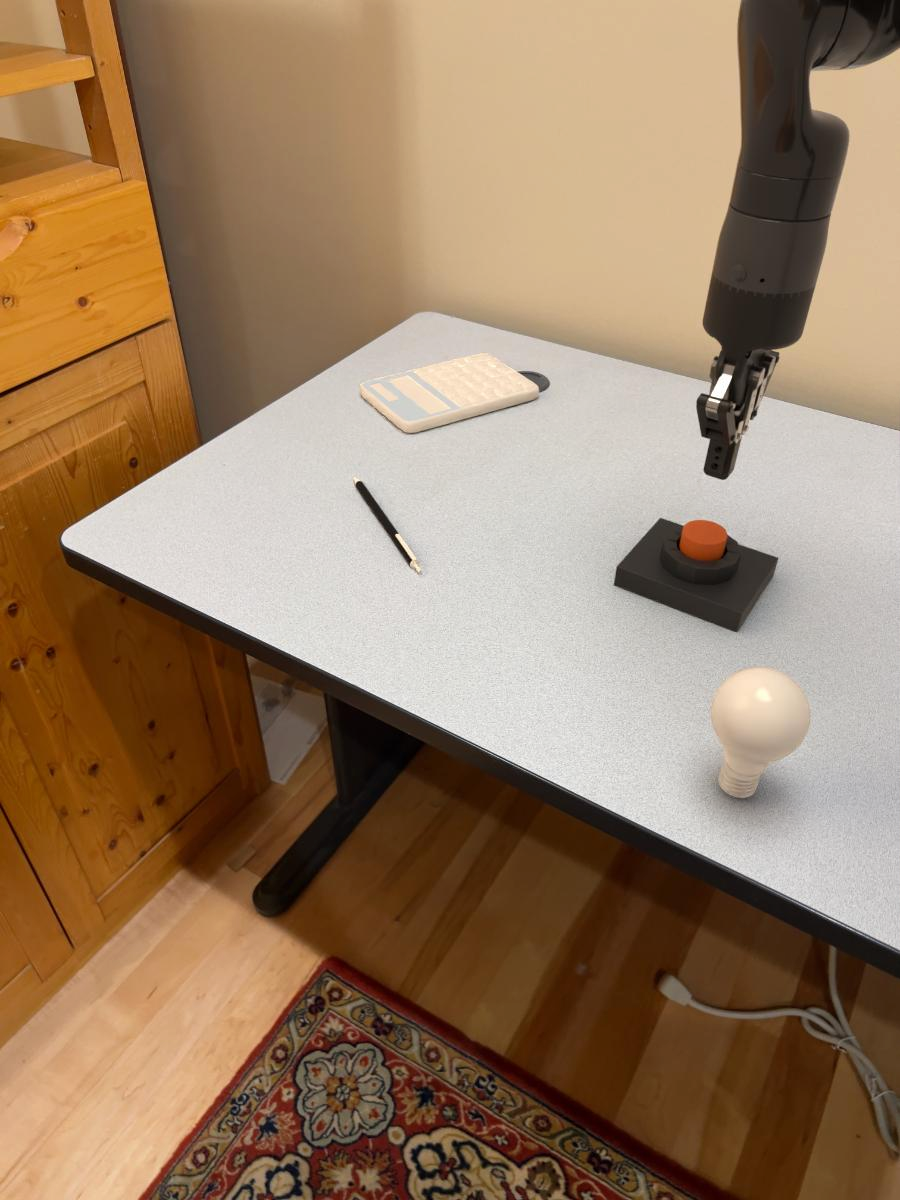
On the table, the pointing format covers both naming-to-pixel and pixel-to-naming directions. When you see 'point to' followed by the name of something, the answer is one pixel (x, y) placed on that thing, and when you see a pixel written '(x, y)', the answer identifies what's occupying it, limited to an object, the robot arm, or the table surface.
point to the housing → (696, 576)
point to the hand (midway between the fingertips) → (717, 473)
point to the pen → (388, 525)
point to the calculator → (448, 392)
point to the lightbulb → (757, 724)
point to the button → (703, 540)
